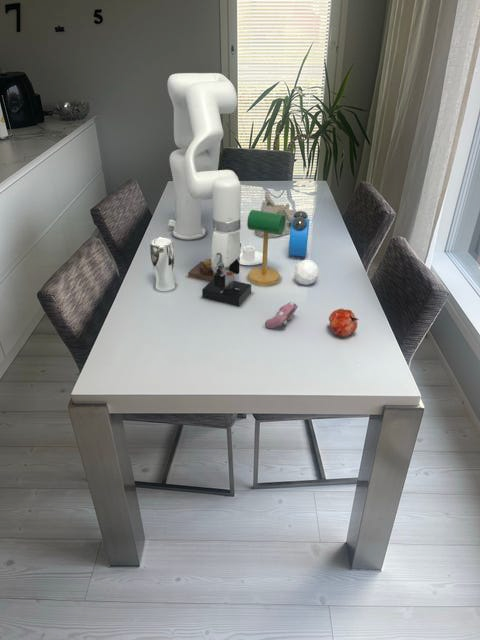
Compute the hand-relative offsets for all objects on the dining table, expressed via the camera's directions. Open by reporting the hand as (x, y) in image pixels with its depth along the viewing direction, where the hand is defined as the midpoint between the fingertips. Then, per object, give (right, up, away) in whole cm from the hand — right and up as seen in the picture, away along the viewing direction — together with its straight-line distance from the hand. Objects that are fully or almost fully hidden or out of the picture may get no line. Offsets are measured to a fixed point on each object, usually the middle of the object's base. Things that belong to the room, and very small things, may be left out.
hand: (227, 279), depth 135 cm
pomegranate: (+31, -15, -13) cm, 37 cm away
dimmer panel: (0, -4, +3) cm, 6 cm away
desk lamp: (+12, +2, +13) cm, 17 cm away
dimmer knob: (0, -2, +2) cm, 2 cm away
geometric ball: (+25, 0, +11) cm, 27 cm away
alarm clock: (+24, +11, +28) cm, 39 cm away
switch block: (-6, +3, +15) cm, 16 cm away
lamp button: (-6, +6, +13) cm, 15 cm away
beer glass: (-19, -2, +8) cm, 21 cm away
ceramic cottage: (+18, +24, +47) cm, 56 cm away
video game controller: (+15, -13, -9) cm, 22 cm away
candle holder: (+7, +9, +25) cm, 27 cm away
